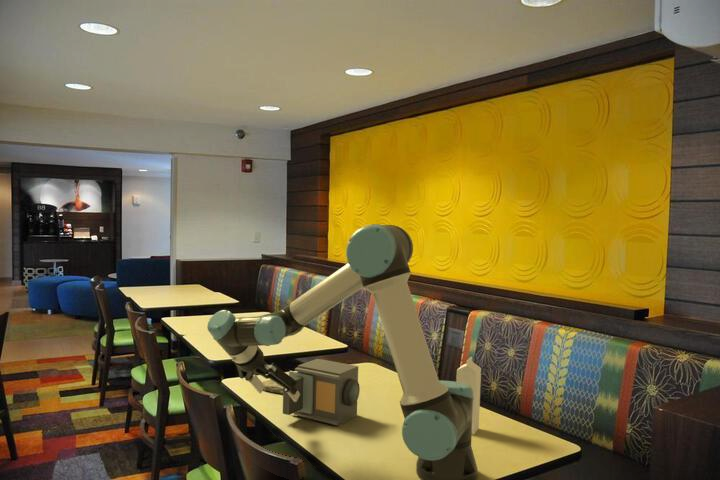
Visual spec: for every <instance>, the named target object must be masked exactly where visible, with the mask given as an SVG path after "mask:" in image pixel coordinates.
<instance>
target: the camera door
mask: <svg viewBox="0 0 720 480" xmlns="http://www.w3.org/2000/svg"><path fill="white" fill-rule="evenodd" d="M288 375H289V376H290V377H292V378H293V379H294V380H295V381H297V384H296V386H295V388H296V389H297V390H298V392H299V393H300V396H299V398H298V400H297V402H294V401H293V399H292V398H291V397H290V396H289V395H288V393H287V392H286V391H285V388H284V387H283V394H282V415H286V416H290V415H292V414H294V413H295V412H297V411H301V412H305V413H309V414H312V413H313V378H314V375H309V374H304V373H299V372H298V371H295V370H294V371H293V370H289V371H288Z"/></svg>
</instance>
